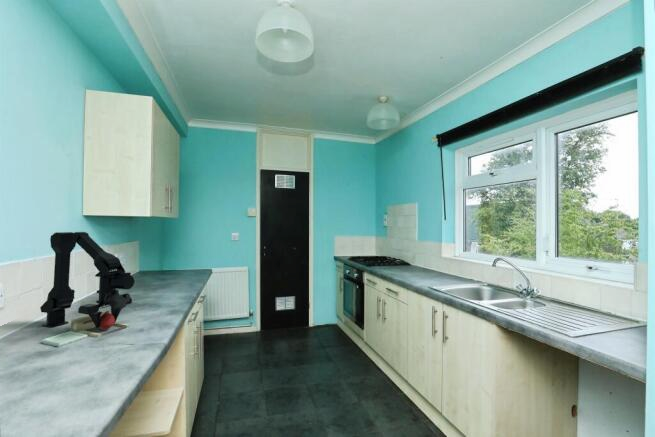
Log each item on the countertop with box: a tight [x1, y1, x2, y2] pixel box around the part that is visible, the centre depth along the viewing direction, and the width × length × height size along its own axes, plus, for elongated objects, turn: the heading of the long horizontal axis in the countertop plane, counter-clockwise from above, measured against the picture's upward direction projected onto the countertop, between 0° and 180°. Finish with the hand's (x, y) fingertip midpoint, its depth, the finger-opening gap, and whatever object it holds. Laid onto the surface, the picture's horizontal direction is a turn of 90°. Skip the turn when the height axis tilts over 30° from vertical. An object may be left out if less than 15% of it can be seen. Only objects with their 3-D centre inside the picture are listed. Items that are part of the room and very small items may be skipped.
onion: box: [99, 310, 115, 331], centre depth 127 cm, size 6×6×8 cm
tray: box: [41, 330, 88, 348], centre depth 115 cm, size 10×10×1 cm
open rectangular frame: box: [70, 310, 130, 338], centre depth 128 cm, size 15×13×5 cm
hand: (106, 325), depth 127 cm, fingers open, 6 cm apart
